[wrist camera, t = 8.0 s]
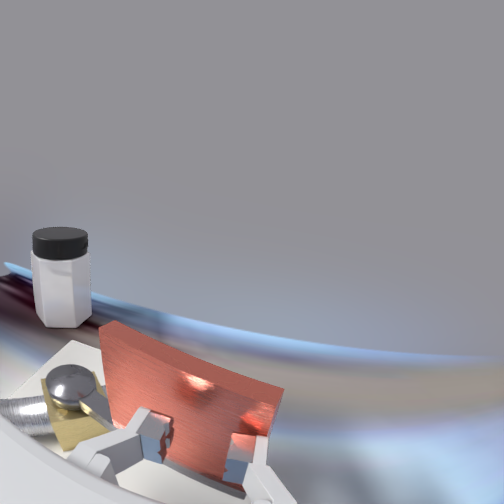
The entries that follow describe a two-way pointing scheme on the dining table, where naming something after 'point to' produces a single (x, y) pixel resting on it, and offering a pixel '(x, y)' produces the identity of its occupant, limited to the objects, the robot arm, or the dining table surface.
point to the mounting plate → (144, 472)
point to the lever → (170, 400)
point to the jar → (61, 276)
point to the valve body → (52, 418)
